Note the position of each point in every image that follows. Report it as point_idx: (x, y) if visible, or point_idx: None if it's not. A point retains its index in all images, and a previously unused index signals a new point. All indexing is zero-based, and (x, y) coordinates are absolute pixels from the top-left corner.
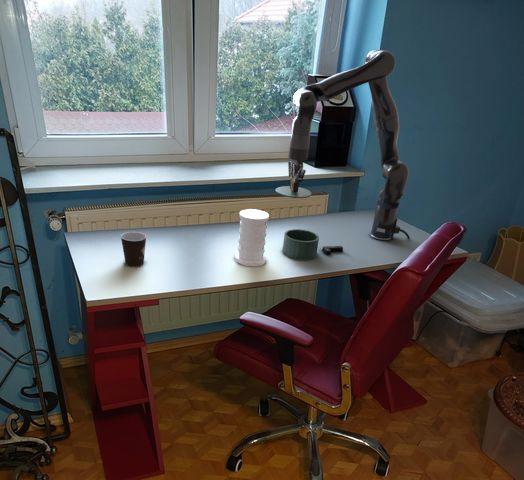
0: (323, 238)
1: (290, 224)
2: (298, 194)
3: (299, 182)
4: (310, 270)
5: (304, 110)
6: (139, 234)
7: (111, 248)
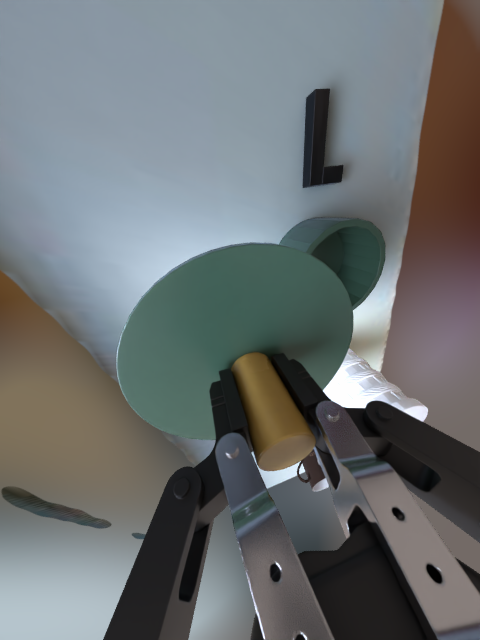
0: (196, 133)
1: (68, 247)
2: (309, 344)
3: (357, 409)
4: (387, 256)
5: None
6: (315, 482)
7: (270, 472)
